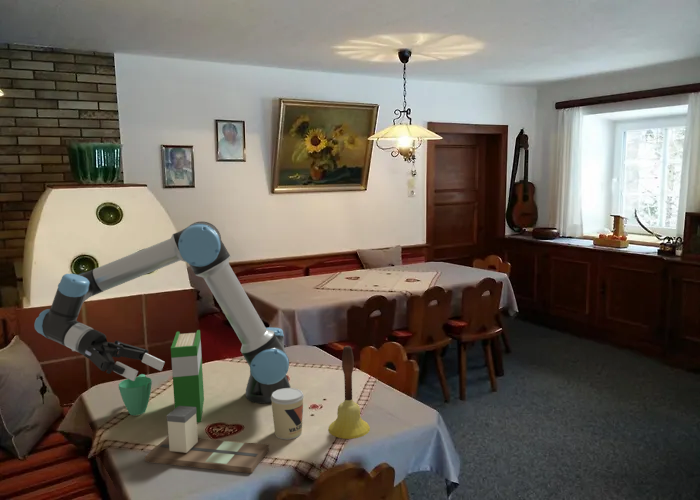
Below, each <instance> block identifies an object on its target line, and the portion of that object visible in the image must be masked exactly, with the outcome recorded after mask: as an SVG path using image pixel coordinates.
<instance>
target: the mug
mask: <svg viewBox="0 0 700 500" xmlns="http://www.w3.org/2000/svg"><path fill="white" fill-rule="evenodd" d="M152 382H153V380H152V378H151V377H148V376H146V374H143V373H141V374H139V375H138V376H136V379H135V381H132V380H130V379H128V378H126V379H124V380H122V381H120V382H119V383H118V390H119V393H120V396H121V399H122V402H123V404H124V406H125V409H126V410H127V412H128V414H129V415H130V416H140V415H143V414H145V413H146V411H147V407H148V406H149V405H148V404H149V401H150V397H151V391H152Z"/></svg>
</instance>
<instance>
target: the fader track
mask: <svg viewBox="0 0 700 500" xmlns="http://www.w3.org/2000/svg"><path fill="white" fill-rule="evenodd" d="M269 451H270V444H265V443H256V442H255V443H254V442H244V441H236V440H235V441H233V440H224V439H213V438H204V437H203V438H202V437H198V442H197V443H196V444H195V445H194V446H193V447H192V448H191V449H190V450H189V451H188V452H187V453H184V452H175V451H170V449H169V435H168V436H167V437H166V438H164V439H163V440H162V441H161V442H160V443H158V444H157V445H156V446H155V447H154V448H152V449H151V451H149V452H148V453H147V454H146V455H145V456H144V462H145V463H153V464H154V463H155V464H163V465H170V466H171V465H172V466H180V467H181V466H182V467H191V468H200V469H208V470H215V471H217V470H218V471H226V472H228V471H229V472H237V473H246V474H253V472H254V471H255V470H256V468H257V467H258V466H259V464H260V463H261V462H262V461H263V459H264V458H265V456H266V455H267V454H268V452H269Z"/></svg>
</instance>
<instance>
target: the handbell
mask: <svg viewBox="0 0 700 500" xmlns="http://www.w3.org/2000/svg"><path fill="white" fill-rule="evenodd" d="M341 355H342V356H341V369H342V373H343V376H344V401H342V402H340V404H339V405H338V406H337V412H336V414H337V418H336V419H335V420H334V421H332V422H331V423H330V424H329V426H328V430H327V431H328V432H329V433H328V434H330V435H332V436H333V437H334V438H335V437H336V438H338V439H343V440H345V439H346V440H347V439H348V440H351V439H359V438H362V437H364V436H366V435H367V434H369V432H370V431H371V427H370V425H369V423H368V422H367V421H365V420H363V418H362V417H361V407H360V405H359V404H358V403H357V402H355V401H354V400H353V371H354V365H355V364H354V353H353V348H352V347H351V345H344V346H343V350H342V354H341Z"/></svg>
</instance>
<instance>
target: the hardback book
mask: <svg viewBox="0 0 700 500" xmlns="http://www.w3.org/2000/svg"><path fill="white" fill-rule="evenodd" d="M170 357H171V369H172V370H171V371H172V373H171V374H172V384H173V385H172V386H173V389H172V390H173V402H174V403H173V404H174V409H175V408H177V407H178V406H189V407H196V411H197V413H196V419H197V423H202V419H203V418H202V417H203V409H204V402H205V393H204V392H205V391H204V378H203V377H204V375H203V374H204V373H203V357H202V342H201V330H200V329H197V330H196V332H188V333H180V331H176V332H175V336H174V338H173V341H172V344H171V346H170Z"/></svg>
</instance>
